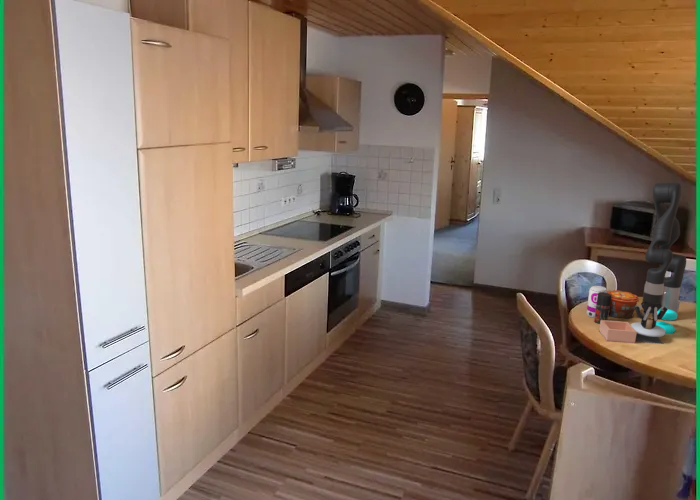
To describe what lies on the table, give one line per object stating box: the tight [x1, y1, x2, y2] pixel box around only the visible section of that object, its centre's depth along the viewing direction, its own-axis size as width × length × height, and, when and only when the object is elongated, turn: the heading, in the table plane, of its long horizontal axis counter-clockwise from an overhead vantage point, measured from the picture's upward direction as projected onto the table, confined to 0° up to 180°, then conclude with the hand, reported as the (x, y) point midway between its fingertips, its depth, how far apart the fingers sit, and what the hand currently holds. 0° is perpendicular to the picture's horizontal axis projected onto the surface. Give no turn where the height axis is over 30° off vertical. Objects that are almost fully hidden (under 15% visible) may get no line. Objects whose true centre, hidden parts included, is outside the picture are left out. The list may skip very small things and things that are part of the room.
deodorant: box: [593, 292, 611, 325], centre depth 268 cm, size 6×6×15 cm
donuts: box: [656, 308, 678, 334], centre depth 261 cm, size 10×10×10 cm
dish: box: [598, 319, 637, 344], centre depth 252 cm, size 12×12×6 cm
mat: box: [635, 333, 665, 345], centre depth 252 cm, size 12×12×1 cm
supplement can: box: [586, 285, 608, 319], centre depth 278 cm, size 8×8×15 cm
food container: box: [607, 289, 640, 320], centre depth 281 cm, size 16×16×11 cm
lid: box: [630, 317, 666, 338], centre depth 251 cm, size 14×14×6 cm
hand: (647, 327), depth 251 cm, fingers closed on lid, 3 cm apart
